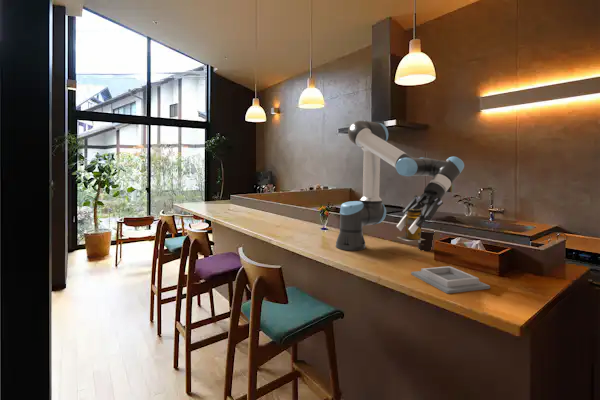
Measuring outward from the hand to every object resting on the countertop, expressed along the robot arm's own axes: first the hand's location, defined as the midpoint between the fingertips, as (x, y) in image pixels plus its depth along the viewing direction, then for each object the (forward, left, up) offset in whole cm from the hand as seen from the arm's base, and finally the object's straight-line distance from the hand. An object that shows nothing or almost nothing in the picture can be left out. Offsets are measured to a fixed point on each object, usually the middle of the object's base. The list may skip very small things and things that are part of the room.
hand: (404, 230), depth 131 cm
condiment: (-1, +4, -4) cm, 6 cm away
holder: (+13, +11, -17) cm, 24 cm away
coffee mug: (-30, +33, -17) cm, 47 cm away
